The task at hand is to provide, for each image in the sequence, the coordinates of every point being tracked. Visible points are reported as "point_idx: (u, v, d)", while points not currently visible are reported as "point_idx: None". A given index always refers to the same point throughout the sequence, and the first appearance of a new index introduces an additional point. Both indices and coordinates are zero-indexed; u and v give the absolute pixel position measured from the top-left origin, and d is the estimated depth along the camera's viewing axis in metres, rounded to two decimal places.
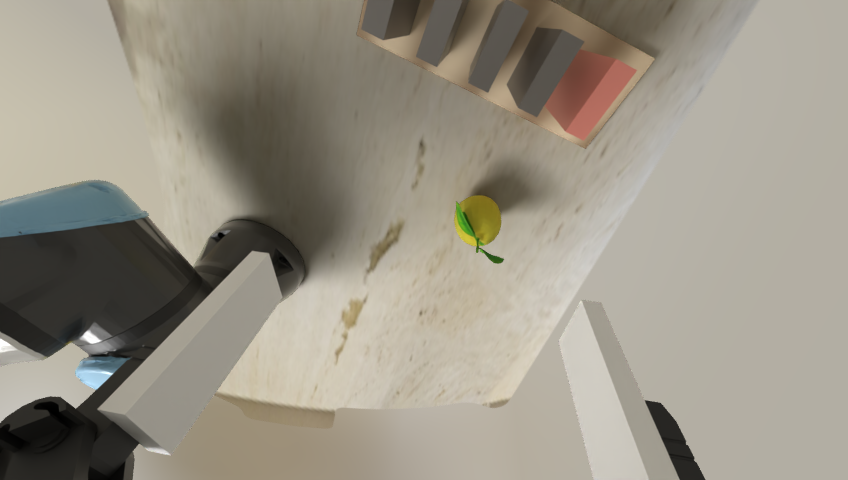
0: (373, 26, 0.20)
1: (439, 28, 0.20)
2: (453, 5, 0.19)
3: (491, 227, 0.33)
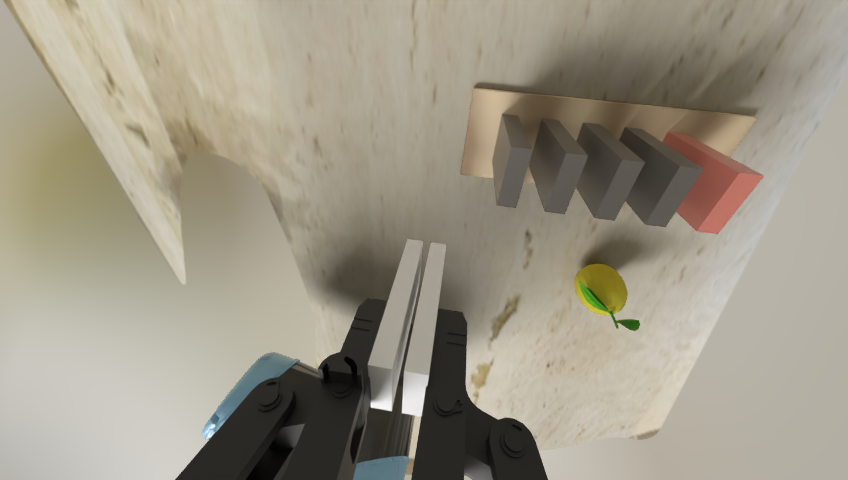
0: (507, 201, 0.25)
1: (564, 190, 0.24)
2: (575, 174, 0.23)
3: (620, 298, 0.35)
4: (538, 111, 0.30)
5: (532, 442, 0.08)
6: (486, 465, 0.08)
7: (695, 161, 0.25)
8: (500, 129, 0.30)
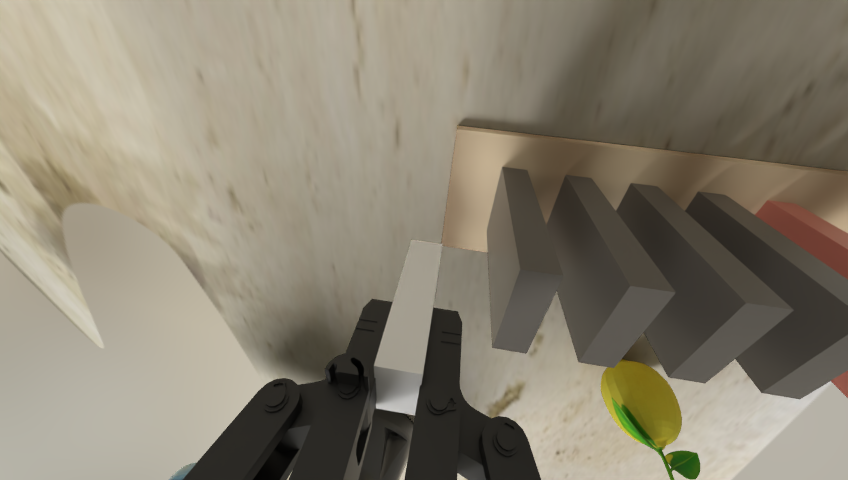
0: (510, 344, 0.14)
1: (618, 338, 0.13)
2: (643, 317, 0.12)
3: (674, 429, 0.24)
4: (560, 164, 0.19)
5: (524, 440, 0.08)
6: (479, 464, 0.08)
7: (844, 271, 0.14)
8: (499, 193, 0.19)
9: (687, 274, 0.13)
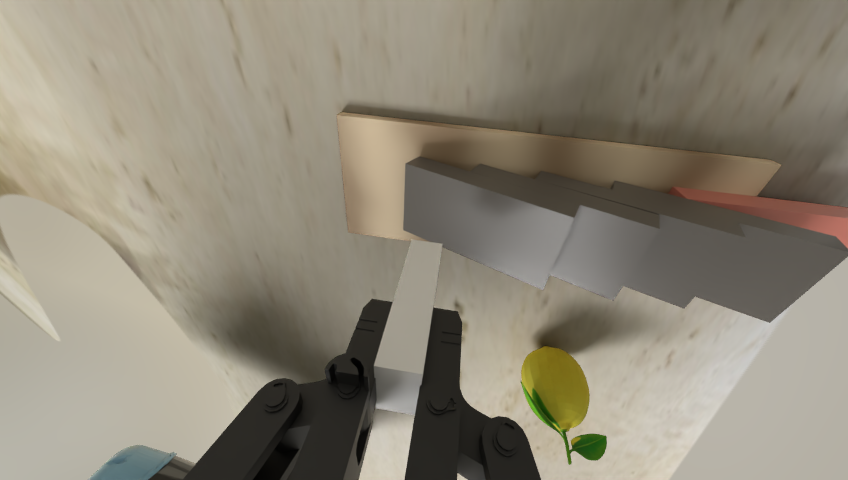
0: None
1: None
2: None
3: (578, 411, 0.24)
4: (439, 149, 0.19)
5: (524, 440, 0.08)
6: (479, 464, 0.08)
7: None
8: (425, 187, 0.19)
9: (668, 236, 0.16)
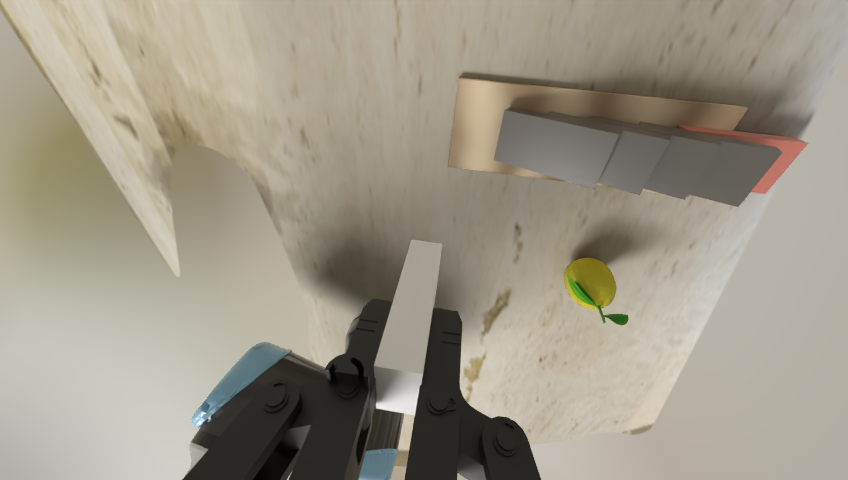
0: None
1: None
2: None
3: (609, 292, 0.34)
4: (524, 101, 0.29)
5: (524, 440, 0.08)
6: (479, 464, 0.08)
7: None
8: (517, 125, 0.29)
9: (675, 149, 0.26)
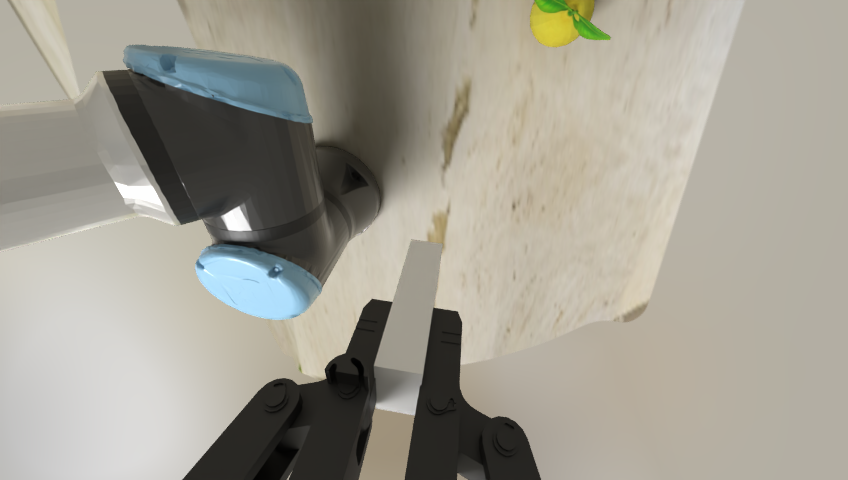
0: None
1: None
2: None
3: None
4: None
5: (524, 440, 0.08)
6: (479, 464, 0.08)
7: None
8: None
9: None
